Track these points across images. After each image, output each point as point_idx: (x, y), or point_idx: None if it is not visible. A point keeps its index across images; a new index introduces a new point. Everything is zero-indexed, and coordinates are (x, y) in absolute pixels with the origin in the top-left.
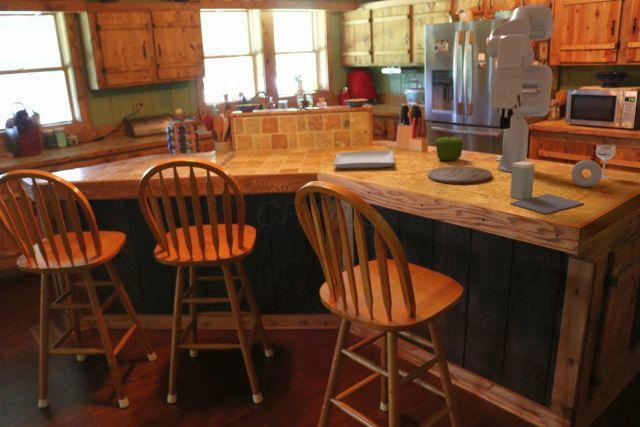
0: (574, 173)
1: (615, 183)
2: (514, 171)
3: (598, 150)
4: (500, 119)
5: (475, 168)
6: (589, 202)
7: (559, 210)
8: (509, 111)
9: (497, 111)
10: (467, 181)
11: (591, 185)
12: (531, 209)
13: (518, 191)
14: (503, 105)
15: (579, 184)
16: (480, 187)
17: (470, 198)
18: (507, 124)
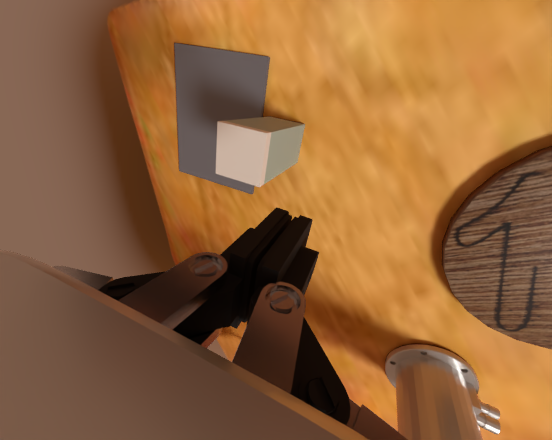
0: None
1: None
2: (268, 128)
3: None
4: (287, 256)
5: (544, 335)
6: (184, 189)
7: (178, 96)
8: (127, 292)
9: (343, 386)
10: (502, 174)
11: None
12: (207, 48)
13: (272, 119)
14: (27, 330)
15: None
16: (431, 164)
17: (398, 10)
18: (244, 235)
